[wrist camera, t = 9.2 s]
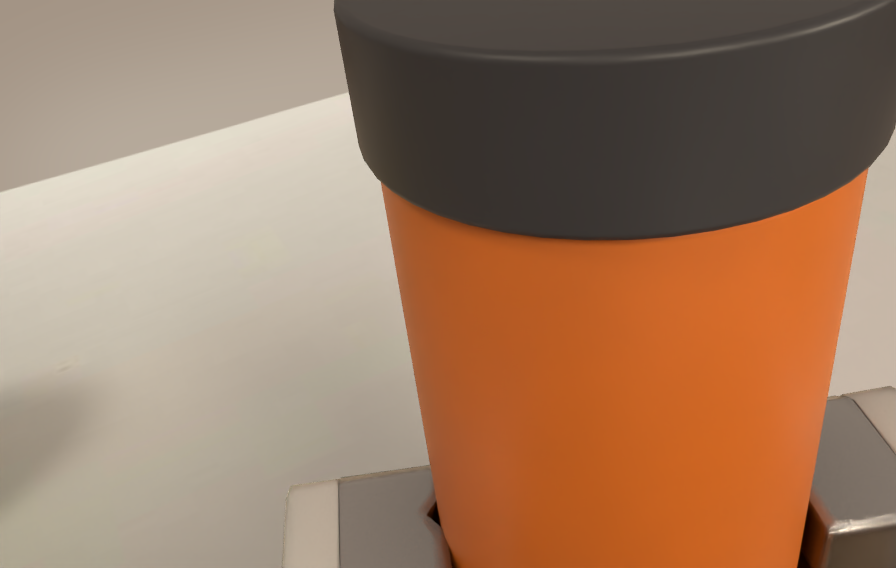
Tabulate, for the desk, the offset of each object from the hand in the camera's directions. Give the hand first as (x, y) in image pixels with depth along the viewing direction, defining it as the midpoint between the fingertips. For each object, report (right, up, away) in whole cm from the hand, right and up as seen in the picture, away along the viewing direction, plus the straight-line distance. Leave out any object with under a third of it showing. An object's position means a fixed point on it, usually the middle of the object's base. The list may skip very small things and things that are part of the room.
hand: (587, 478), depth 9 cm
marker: (+1, -6, +3) cm, 7 cm away
